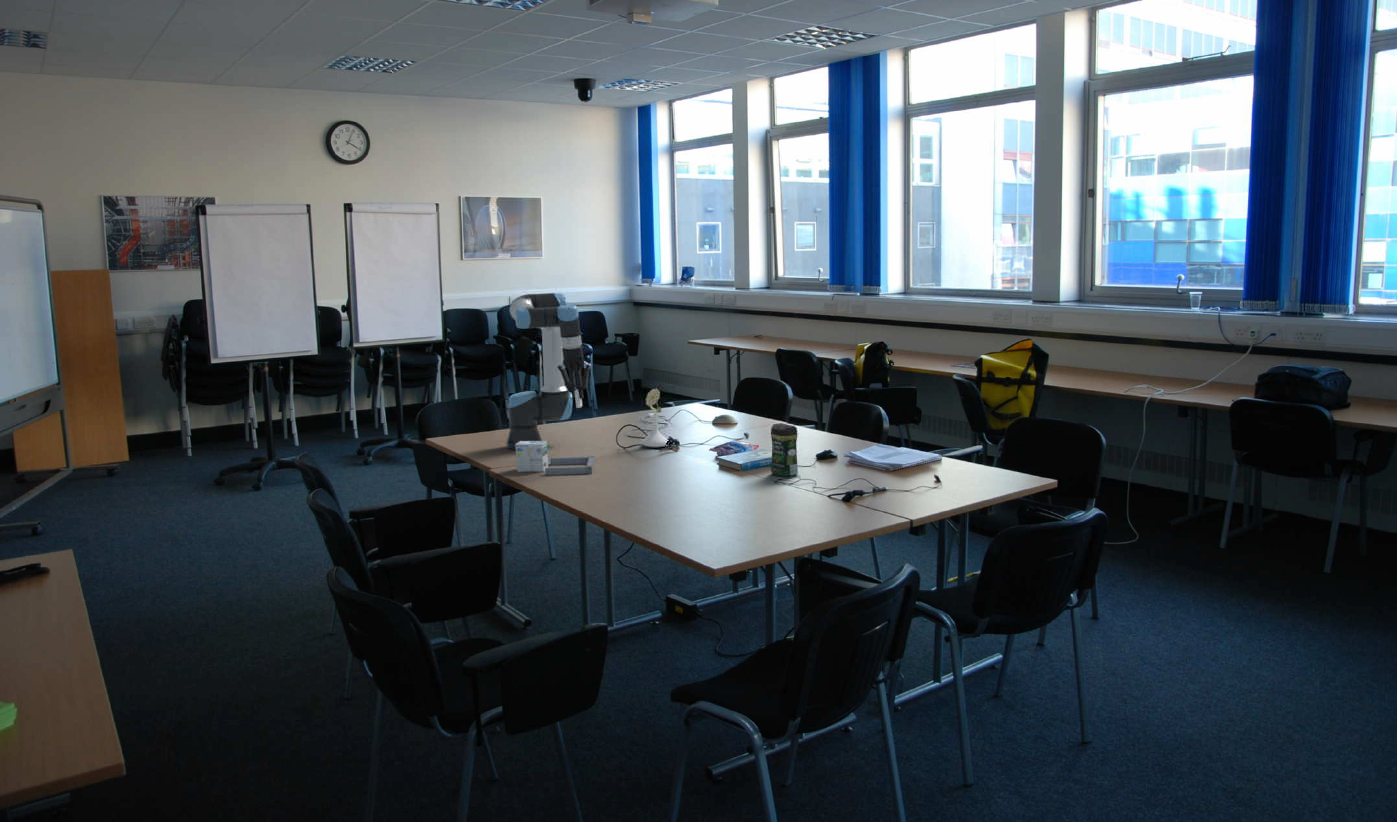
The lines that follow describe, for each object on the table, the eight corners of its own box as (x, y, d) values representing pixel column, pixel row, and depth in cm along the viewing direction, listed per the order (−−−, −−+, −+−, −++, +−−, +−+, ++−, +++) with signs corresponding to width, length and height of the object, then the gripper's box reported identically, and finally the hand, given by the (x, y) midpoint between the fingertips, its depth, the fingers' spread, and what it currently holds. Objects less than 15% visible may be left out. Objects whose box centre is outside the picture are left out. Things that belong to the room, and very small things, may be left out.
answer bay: (551, 463, 378) (550, 457, 378) (594, 462, 379) (594, 456, 378) (545, 475, 358) (545, 468, 358) (591, 473, 359) (591, 467, 359)
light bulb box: (548, 468, 371) (547, 440, 369) (544, 471, 364) (542, 443, 362) (521, 468, 372) (519, 440, 370) (516, 472, 365) (514, 443, 363)
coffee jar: (767, 474, 352) (766, 423, 349) (784, 470, 356) (783, 421, 353) (784, 478, 344) (784, 427, 341) (801, 475, 348) (801, 424, 346)
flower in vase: (639, 445, 412) (637, 386, 408) (665, 443, 415) (663, 385, 411) (646, 450, 400) (644, 390, 396) (673, 448, 403) (671, 389, 399)
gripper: (552, 349, 361) (560, 410, 368) (585, 348, 359) (593, 409, 365) (558, 344, 368) (566, 404, 375) (591, 343, 366) (598, 403, 372)
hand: (579, 406), depth 370 cm, fingers closed
